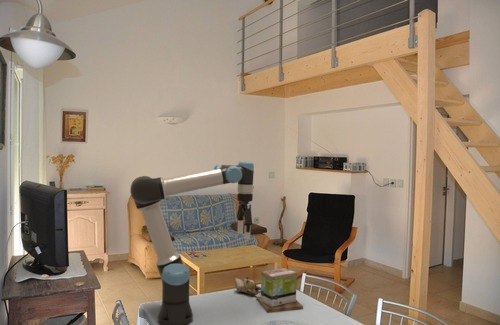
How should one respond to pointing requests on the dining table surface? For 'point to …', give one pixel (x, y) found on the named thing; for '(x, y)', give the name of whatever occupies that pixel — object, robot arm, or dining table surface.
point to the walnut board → (280, 306)
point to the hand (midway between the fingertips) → (243, 236)
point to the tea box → (278, 287)
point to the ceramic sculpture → (246, 286)
